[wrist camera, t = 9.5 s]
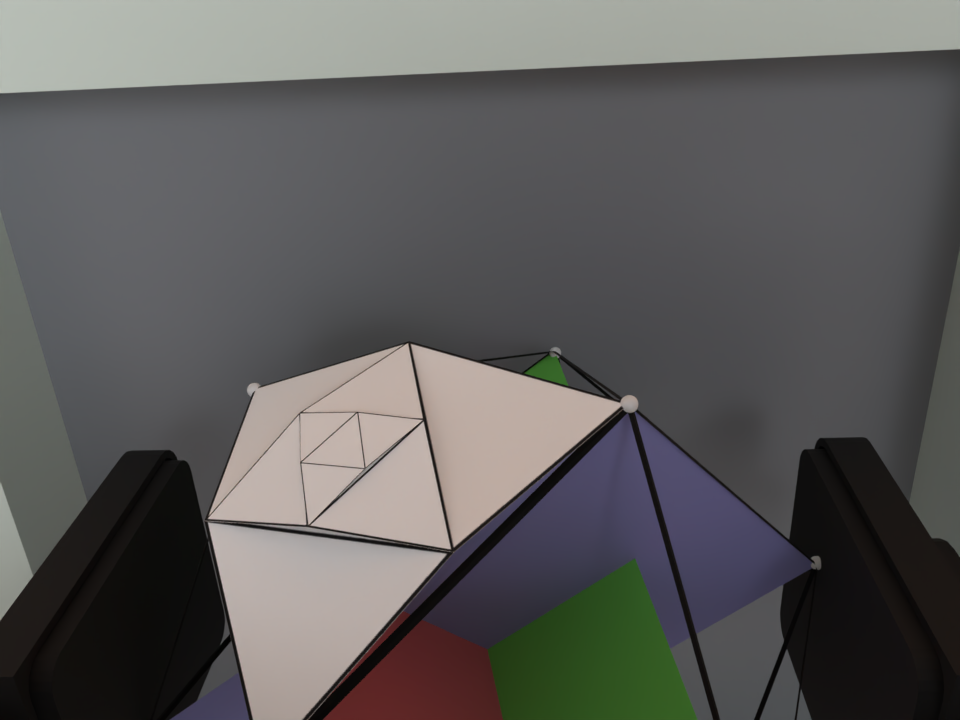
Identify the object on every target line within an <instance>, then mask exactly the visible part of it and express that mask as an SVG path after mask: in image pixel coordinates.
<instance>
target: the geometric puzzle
mask: <svg viewBox="0 0 960 720" xmlns="http://www.w3.org/2000/svg"><path fill="white" fill-rule="evenodd" d="M540 354H547V355H545V356H544V357H542V358H541V359H540V360H538V361H537V362H536V363H534V364H533V365H532V366H530V367H529V368H528V369H526V370H525V371H523V372H522V373H521V372H517V371H514V370H510V369H507V368H503V367H500V366H496V365H493V364H489V363H485V362H484V361H492V360H500V359H508V358H516V357H524V356H532V355H540ZM559 358H560V359H561V360H562V361H563V362H565V363H566V364H567V365H568V366H570V367H571V368H572V369H573V370H574V371H576V372H577V373H578V374H579V375H581V376H582V377H583V378H584V379H585V380H587V381H588V382H589V383H590V384H592V385H593V386H594V387H595V388H597V389H598V390H599V391H600V392H601V393H603V394H604V395H605V396H603V395H599V394H595V393H592V392H588V391H585V390H581V389H578V388H574V387H571V386H568V384H567V381H566V378H565V376H564V373H563V371H562V368H561V365H560V359H559ZM588 377H589V378H590V379H591V380H590V379H589V378H588ZM592 380H593V381H594V382H596V383H597V384H598V385H600V386H601V387H602V388H604V389H605V390H607V391H608V392H609V393H611V394H612V395H614V396H615V397H616V398H618V399H619V400H617V399H614V398H613V397H611V396H610V395H609V394H608V393H606V392H605V391H604V390H603V389H602V388H600V387H599V386H598V385H597V384H595V383H594V382H593V381H592ZM247 393H248V395H249V396H251V398H250V401H249V404H248V406H247V409H246V412H245V414H244V417H243V420H242V422H241V425H240V428H239V430H238V433H237V435H236V438H235V441H234V443H233V446H232V449H231V451H230V454H229V457H228V459H227V462H226V465H225V467H224V470H223V473H222V475H221V478H220V481H219V483H218V486H217V489H216V491H215V494H214V497H213V499H212V502H211V504H210V507H209V510H208V512H207V515H206V518H205V520H204V522H205V527H206V531H207V535H208V537H207V540H206V544H205V547H204V550H203V553H202V556H201V559H200V563H199V566H198V569H197V572H196V575H195V579H194V582H193V585H192V588H191V591H190V594H189V598H188V601H187V604H186V607H185V610H184V614H183V617H182V620H181V623H180V626H179V629H178V633H177V636H176V639H175V642H174V645H173V649H172V652H171V655H170V658H169V661H168V664H167V668H166V671H165V674H164V677H163V680H162V684H161V687H160V690H159V693H158V696H157V699H156V703H155V706H154V709H153V712H152V715H151V718H150V720H153V717H154V714H155V710H156V707H157V704H158V701H159V698H160V694H161V691H162V688H163V685H164V682H165V679H166V675H167V672H168V669H169V666H170V663H171V660H172V656H173V653H174V650H175V647H176V644H177V640H178V637H179V634H180V631H181V628H182V625H183V621H184V618H185V615H186V612H187V609H188V606H189V602H190V599H191V596H192V593H193V590H194V586H195V583H196V580H197V577H198V574H199V571H200V567H201V564H202V561H203V558H204V555H205V551H206V548H207V545H208V542H209V544H210V549H211V553H212V558H213V562H214V566H215V571H216V575H217V580H218V584H219V588H220V593H221V597H222V602H223V606H224V611H225V615H226V619H227V624H228V628H229V633H230V634H229V635H228V637H227V638H226V639H225V640H224V641H223V642H222V644H221V645H220V646H219V647H218V648H217V650H216V651H215V652H214V653H213V654H212V655H211V657H210V658H209V659H208V660H207V661H206V662H205V664H204V665H203V666H202V667H201V668H200V669H199V671H198V672H197V673H196V674H195V675H194V676H193V678H192V679H191V680H190V681H189V682H188V684H187V685H186V686H185V687H184V688H183V689H182V691H181V692H180V693H179V694H178V695H177V696H176V698H175V699H174V700H173V701H172V702H171V703H170V705H169V706H168V707H167V708H166V709H165V711H164V712H163V713H162V714H161V715H160V716H159V718H158V719H157V720H165V719H166V718H167V717H168V716H169V714H170V713H171V712H172V711H173V710H174V709H175V707H176V706H177V705H178V704H179V703H180V701H181V700H182V699H183V698H184V697H185V695H186V694H187V693H188V692H189V691H190V690H191V688H192V687H193V686H194V685H195V684H196V682H197V681H198V680H199V679H200V678H201V676H202V675H203V674H204V673H205V672H206V671H207V669H208V668H209V667H210V666H211V665H212V663H213V662H214V661H215V660H216V659H217V658H218V656H219V655H220V654H221V653H222V652H223V650H224V649H225V648H226V647H227V646H228V644H229V643H230V642H231V641H232V646H233V650H234V655H235V659H236V664H237V668H238V672H239V673H237V674H236V675H234V676H233V677H231V678H230V679H228V680H227V681H226V682H224V683H223V684H221V685H220V686H218V687H217V688H215V689H214V690H212V691H211V692H210V693H208V694H207V695H205V696H204V697H202V698H201V699H199V700H198V701H196V702H195V703H194V704H192V705H191V706H189V707H188V708H186V709H185V710H183V711H182V712H180V713H179V714H177V715H176V716H175V717H173V718H172V719H170V720H697V717H696V714H695V712H694V709H693V707H692V704H691V701H690V699H689V696H688V694H687V691H686V689H685V686H684V683H683V681H682V678H681V676H680V673H679V670H678V668H677V665H676V663H675V660H674V658H673V655H672V652H671V650H670V648H672V647H674V646H676V645H677V644H679V643H681V642H683V641H685V640H686V639H688V638H691V642H692V646H693V649H694V653H695V656H696V660H697V664H698V667H699V671H700V674H701V678H702V682H703V685H704V689H705V693H706V696H707V700H708V703H709V707H710V711H711V714H712V718H713V720H720V717H719V714H718V710H717V706H716V703H715V699H714V696H713V692H712V688H711V685H710V681H709V678H708V674H707V670H706V667H705V663H704V660H703V656H702V652H701V649H700V645H699V642H698V638H697V633H699V632H700V631H702V630H704V629H706V628H707V627H709V626H711V625H713V624H714V623H716V622H718V621H720V620H722V619H723V618H725V617H727V616H729V615H730V614H732V613H734V612H736V611H737V610H739V609H741V608H743V607H744V606H746V605H748V604H750V603H752V602H753V601H755V600H757V599H759V598H760V597H762V596H764V595H766V594H767V593H769V592H771V591H773V590H774V589H776V588H778V587H780V586H781V585H783V584H785V583H787V582H789V581H790V580H792V579H794V578H796V577H797V576H799V575H801V574H803V573H804V572H807V571H811V572H810V574H809V577H808V580H807V582H806V585H805V587H804V590H803V593H802V595H801V598H800V601H799V603H798V606H797V608H796V611H795V614H794V616H793V619H792V621H791V624H790V627H789V629H788V632H787V635H786V637H785V640H784V642H783V645H782V648H781V650H780V653H779V655H778V658H777V661H776V663H775V666H774V668H773V671H772V674H771V676H770V679H769V682H768V684H767V687H766V689H765V692H764V695H763V697H762V700H761V702H760V705H759V708H758V710H757V713H756V716H755V718H754V720H760V718H761V715H762V712H763V710H764V707H765V704H766V702H767V699H768V697H769V694H770V691H771V689H772V686H773V684H774V681H775V678H776V676H777V673H778V671H779V668H780V665H781V663H782V660H783V658H784V655H785V652H786V650H787V647H788V644H789V642H790V639H791V637H792V634H793V631H794V629H795V626H796V624H797V621H798V618H799V616H800V613H801V611H802V608H803V605H804V603H805V600H806V597H807V595H808V592H809V590H810V587H811V584H812V582H813V579H814V577H815V579H814V586H813V593H812V600H811V607H810V614H809V621H808V628H807V635H806V642H805V650H804V657H803V664H802V671H801V678H800V685H799V692H798V699H797V706H796V713H795V720H797V713H798V706H799V699H800V692H801V685H802V677H803V670H804V663H805V656H806V649H807V641H808V634H809V627H810V620H811V613H812V605H813V598H814V591H815V584H816V577H817V570H820V569H821V559H820V557H819V556H813V557H812V558H810V557H809V556H807V555H806V554H805V553H804V552H803V551H802V550H800V549H799V548H798V547H797V546H796V545H795V544H793V543H792V542H791V541H790V540H789V539H788V538H786V537H785V536H784V535H783V534H782V533H781V532H780V531H778V530H777V529H776V528H775V527H774V526H773V525H771V524H770V523H769V522H768V521H767V520H766V519H764V518H763V517H762V516H761V515H760V514H759V513H757V512H756V511H755V510H754V509H753V508H752V507H750V506H749V505H748V504H747V503H746V502H745V501H743V500H742V499H741V498H740V497H739V496H738V495H736V494H735V493H734V492H733V491H732V490H731V489H729V488H728V487H727V486H726V485H725V484H724V483H722V482H721V481H720V480H719V479H718V478H717V477H715V476H714V475H713V474H712V473H711V472H710V471H708V470H707V469H706V468H705V467H704V466H703V465H701V464H700V463H699V462H698V461H697V460H696V459H694V458H693V457H692V456H691V455H690V454H689V453H688V452H686V451H685V450H684V449H683V448H682V447H681V446H679V445H678V444H677V443H676V442H675V441H674V440H672V439H671V438H670V437H669V436H668V435H667V434H665V433H664V432H663V431H662V430H661V429H660V428H658V427H657V426H656V425H655V424H654V423H653V422H651V421H650V420H649V419H648V418H647V417H646V416H644V415H643V414H642V413H641V412H640V411H639V410H637V408H638V400H637V399H636V398H635V397H634V396H632V395H627V396H624V397H623V398H622V397H620V396H619V395H618V394H616V393H615V392H613V391H612V390H610V389H609V388H608V387H606V386H605V385H603V384H602V383H600V382H599V381H598V380H596V379H595V378H593V377H592V376H590V375H589V374H588V373H586V372H585V371H583V370H582V369H580V368H579V367H578V366H576V365H575V364H573V363H572V362H570V361H569V360H568V359H566V358H565V357H563V356H562V355H561V350H560V349H559V348H558V347H553V348H551V349H550V351H547V352H539V353H531V354H523V355H515V356H507V357H499V358H491V359H483V360H475V359H471V358H468V357H464V356H461V355H457V354H454V353H450V352H446V351H443V350H439V349H436V348H432V347H429V346H425V345H422V344H418V343H414V342H411V341H408V342H404V343H401V344H398V345H395V346H391V347H388V348H385V349H381V350H378V351H375V352H371V353H368V354H365V355H361V356H358V357H355V358H352V359H348V360H345V361H342V362H338V363H335V364H332V365H328V366H325V367H322V368H319V369H315V370H312V371H309V372H305V373H302V374H299V375H295V376H292V377H289V378H285V379H282V380H279V381H276V382H272V383H269V384H266V385H262V386H260V385H259V384H258V383H251V384H250V385H249V386H248V388H247ZM620 400H621V401H620Z"/></svg>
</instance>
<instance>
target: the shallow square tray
mask: <svg viewBox="0 0 960 720" xmlns="http://www.w3.org/2000/svg"><path fill="white" fill-rule="evenodd" d="M408 341H411V342H414V343H418V344H422V345H425V346H429V347H432V348H436V349H439V350H443V351H446V352H450V353H454V354H457V355H461V356H464V357H468V358H471V359H475V360H483V359H491V358H499V357H507V356H515V355H523V354H531V353H539V352H547V351H550V349H551V348H553V347H558V348H559V349H560V350H561V355H562V356H563V357H565V358H566V359H568V360H569V361H570V362H572V363H573V364H575V365H576V366H578V367H579V368H580V369H582V370H583V371H585V372H586V373H588V374H589V375H590V376H592V377H593V378H595V379H596V380H598V381H599V382H600V383H602V384H603V385H605V386H606V387H608V388H609V389H610V390H612V391H613V392H615V393H616V394H618V395H619V396H620V397H622V398H623V397H624V396H627V395H632V396H634V397H635V398H636V399H637V400H638V408H637V410H639V411H640V412H641V413H642V414H643V415H644V416H646V417H647V418H648V419H649V420H650V421H651V422H653V423H654V424H655V425H656V426H657V427H658V428H660V429H661V430H662V431H663V432H664V433H665V434H667V435H668V436H669V437H670V438H671V439H672V440H674V441H675V442H676V443H677V444H678V445H679V446H681V447H682V448H683V449H684V450H685V451H686V452H688V453H689V454H690V455H691V456H692V457H693V458H694V459H696V460H697V461H698V462H699V463H700V464H701V465H703V466H704V467H705V468H706V469H707V470H708V471H710V472H711V473H712V474H713V475H714V476H715V477H717V478H718V479H719V480H720V481H721V482H722V483H724V484H725V485H726V486H727V487H728V488H729V489H731V490H732V491H733V492H734V493H735V494H736V495H738V496H739V497H740V498H741V499H742V500H743V501H745V502H746V503H747V504H748V505H749V506H750V507H752V508H753V509H754V510H755V511H756V512H757V513H759V514H760V515H761V516H762V517H763V518H764V519H766V520H767V521H768V522H769V523H770V524H771V525H773V526H774V527H775V528H776V529H777V530H778V531H780V532H781V533H782V534H783V535H784V536H785V537H786V538H788V539H789V537H790V530H791V522H792V514H793V506H794V499H795V491H796V483H797V476H798V468H799V460H800V455H801V453H802V451H803V450H804V449H814V448H815V444H816V442H817V440H818V439H819V438H838V437H865V438H867V439H868V440H869V441H870V442H871V444H872V446H873V447H874V449H875V450H876V452H877V453H878V455H879V456H880V458H881V460H882V461H883V463H884V464H885V466H886V467H887V469H888V471H889V472H890V474H891V475H892V477H893V478H894V480H895V481H896V483H897V485H898V486H899V488H900V489H901V491H902V492H903V494H904V496H905V497H906V499H907V500H908V502H909V503H910V505H911V506H912V508H913V510H914V511H915V513H916V514H917V516H918V517H919V519H920V521H921V522H922V524H923V525H924V527H925V528H926V530H927V531H928V533H929V535H930V536H931V538H941V539H943V540H945V541H948V543H949V544H950V545H951V546H952V547H953V548H954V549H955V551H956V552H957V554H958V555H959V557H960V0H0V620H1V619H2V617H3V616H4V615H5V613H6V612H7V611H8V609H9V608H10V607H11V605H12V604H13V603H14V601H15V600H16V599H17V597H18V596H19V594H20V593H21V592H22V590H23V589H24V588H25V586H26V585H27V584H28V582H29V581H30V580H31V578H32V577H33V576H34V574H35V573H36V571H37V570H38V569H39V567H40V566H41V565H42V563H43V562H44V561H45V559H46V558H47V557H48V555H49V554H50V553H51V551H52V550H53V548H54V547H55V546H56V544H57V543H58V542H59V540H60V539H61V538H62V536H63V535H64V534H65V532H66V531H67V530H68V528H69V527H70V525H71V524H72V523H73V521H74V520H75V519H76V517H77V516H78V515H79V513H80V512H81V511H82V509H83V508H84V507H85V505H86V504H87V503H88V501H89V500H90V498H91V497H92V496H93V494H94V493H95V492H96V490H97V489H98V488H99V486H100V485H101V484H102V482H103V481H104V480H105V478H106V477H107V475H108V474H109V473H110V471H111V470H112V469H113V467H114V466H115V465H116V463H117V462H118V461H119V459H120V458H121V457H122V455H123V454H124V453H125V452H127V451H132V450H171V451H172V452H174V454H175V455H176V457H177V460H185V461H187V462H188V464H189V466H190V469H191V472H192V476H193V481H194V485H195V489H196V493H197V498H198V502H199V506H200V511H201V515H202V519H203V523H204V528H205V532H206V536H207V537H208V535H207V531H206V527H205V522H204V520H205V518H206V515H207V512H208V510H209V507H210V504H211V502H212V499H213V497H214V494H215V491H216V489H217V486H218V483H219V481H220V478H221V475H222V473H223V470H224V467H225V465H226V462H227V459H228V457H229V454H230V451H231V449H232V446H233V443H234V441H235V438H236V435H237V433H238V430H239V428H240V425H241V422H242V420H243V417H244V414H245V412H246V409H247V406H248V404H249V401H250V398H251V396H249V395H248V393H247V388H248V386H249V385H250V384H251V383H258V384H259V385H260V386H262V385H266V384H269V383H272V382H276V381H279V380H282V379H285V378H289V377H292V376H295V375H299V374H302V373H305V372H309V371H312V370H315V369H319V368H322V367H325V366H328V365H332V364H335V363H338V362H342V361H345V360H348V359H352V358H355V357H358V356H361V355H365V354H368V353H371V352H375V351H378V350H381V349H385V348H388V347H391V346H395V345H398V344H401V343H404V342H408ZM545 355H547V354H540V355H532V356H524V357H516V358H508V359H500V360H492V361H484V362H485V363H489V364H493V365H496V366H500V367H503V368H507V369H510V370H514V371H517V372H521V373H522V372H523V371H525V370H526V369H528V368H529V367H530V366H532V365H533V364H534V363H536V362H537V361H538V360H540V359H541V358H542V357H544V356H545ZM559 359H560V358H559ZM560 365H561V368H562V371H563V373H564V376H565V378H566V381H567V384H568V386H571V387H574V388H578V389H581V390H585V391H588V392H592V393H595V394H599V395H603V396H605V395H604V394H603V393H601V392H600V391H599V390H598V389H597V388H595V387H594V386H593V385H592V384H590V383H589V382H588V381H587V380H585V379H584V378H583V377H582V376H581V375H579V374H578V373H577V372H576V371H574V370H573V369H572V368H571V367H570V366H568V365H567V364H566V363H565V362H563V361H562V360H561V359H560ZM588 378H589V377H588ZM589 379H590V378H589ZM590 380H591V379H590ZM592 381H593V380H592ZM593 382H594V381H593ZM594 383H595V384H597V383H596V382H594ZM597 385H598V384H597ZM598 386H599V387H600V388H602V387H601V386H600V385H598ZM602 389H603V390H604V391H605V392H606V393H608V394H609V395H610V396H611V397H613V398H614V399H617V400H619V399H618V398H616V397H615V396H614V395H612V394H611V393H609V392H608V391H607V390H605V389H604V388H602ZM620 401H621V400H620ZM208 545H209V549H210V544H209V542H208ZM210 553H211V549H210ZM211 558H212V553H211ZM212 562H213V558H212ZM213 566H214V562H213ZM214 571H215V566H214ZM215 575H216V571H215ZM216 579H217V575H216ZM217 583H218V580H217ZM218 588H219V584H218ZM782 591H783V585H781V586H780V587H778V588H776V589H774V590H773V591H771V592H769V593H767V594H766V595H764V596H762V597H760V598H759V599H757V600H755V601H753V602H752V603H750V604H748V605H746V606H744V607H743V608H741V609H739V610H737V611H736V612H734V613H732V614H730V615H729V616H727V617H725V618H723V619H722V620H720V621H718V622H716V623H714V624H713V625H711V626H709V627H707V628H706V629H704V630H702V631H700V632H699V633H697V638H698V642H699V645H700V649H701V652H702V656H703V660H704V663H705V667H706V670H707V674H708V678H709V681H710V685H711V688H712V692H713V696H714V699H715V703H716V706H717V710H718V714H719V717H720V720H754V718H755V716H756V713H757V710H758V708H759V705H760V702H761V700H762V697H763V695H764V692H765V689H766V687H767V684H768V682H769V679H770V676H771V674H772V671H773V668H774V666H775V663H776V661H777V658H778V655H779V653H780V650H781V648H782V645H783V642H784V639H783V635H782V630H781V623H780V607H781V599H782ZM219 592H220V588H219ZM220 596H221V593H220ZM221 601H222V597H221ZM222 605H223V602H222ZM223 609H224V606H223ZM224 615H225V611H224ZM229 634H230V633H229V628H228V624H227V619H226V615H225V628H224V634H223V638H222V641H221V644H222V642H223V641H224V640H225V639H226V638H227V637H228V635H229ZM221 644H220V645H221ZM670 650H671V652H672V655H673V658H674V660H675V663H676V665H677V668H678V670H679V673H680V676H681V678H682V681H683V683H684V686H685V689H686V691H687V694H688V696H689V699H690V701H691V704H692V707H693V709H694V712H695V714H696V717H697V720H713V718H712V714H711V711H710V707H709V703H708V700H707V696H706V693H705V689H704V685H703V682H702V678H701V674H700V671H699V667H698V664H697V660H696V656H695V653H694V649H693V646H692V642H691V638H688V639H686V640H685V641H683V642H681V643H679V644H677V645H676V646H674V647H672V648H670ZM237 673H239V672H238V668H237V664H236V659H235V655H234V650H233V646H232V641H231V642H230V643H229V644H228V646H227V647H226V648H225V649H224V650H223V652H222V653H221V654H220V655H219V656H218V658H217V659H216V660H215V661H214V662H213V663H212V666H211V668H210V670H209V673H208V675H207V678H206V680H205V682H204V685H203V687H202V690H201V692H200V694H199V697H198V699H197V701H198V700H199V699H201V698H202V697H204V696H205V695H207V694H208V693H210V692H211V691H212V690H214V689H215V688H217V687H218V686H220V685H221V684H223V683H224V682H226V681H227V680H228V679H230V678H231V677H233V676H234V675H236V674H237ZM798 692H799V682H798V679H797V676H796V673H795V670H794V668H793V665H792V662H791V659H790V656H789V653H788V650H786V652H785V655H784V658H783V660H782V663H781V665H780V668H779V671H778V673H777V676H776V678H775V681H774V684H773V686H772V689H771V691H770V694H769V697H768V699H767V702H766V704H765V707H764V710H763V712H762V715H761V718H760V720H795V713H796V706H797V699H798ZM797 720H812V719H811V716H810V713H809V711H808V708H807V705H806V702H805V699H804V696H803V693H802V690H801V692H800V699H799V706H798V713H797Z"/></svg>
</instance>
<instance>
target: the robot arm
mask: <svg viewBox="0 0 960 720" xmlns="http://www.w3.org/2000/svg"><path fill="white" fill-rule="evenodd" d="M206 540H207V536H206V532H205V528H204V523H203V519H202V515H201V511H200V506H199V502H198V498H197V493H196V489H195V485H194V481H193V476H192V472H191V469H190V466H189V464H188V462H187V461H185V460H177V457H176V455H175V454H174V452H172V451H171V450H132V451H127V452H125V453H124V454H123V455H122V457H121V458H120V459H119V461H118V462H117V463H116V465H115V466H114V467H113V469H112V470H111V471H110V473H109V474H108V475H107V477H106V478H105V480H104V481H103V482H102V484H101V485H100V486H99V488H98V489H97V490H96V492H95V493H94V494H93V496H92V497H91V498H90V500H89V501H88V503H87V504H86V505H85V507H84V508H83V509H82V511H81V512H80V513H79V515H78V516H77V517H76V519H75V520H74V521H73V523H72V524H71V525H70V527H69V528H68V530H67V531H66V532H65V534H64V535H63V536H62V538H61V539H60V540H59V542H58V543H57V544H56V546H55V547H54V548H53V550H52V551H51V553H50V554H49V555H48V557H47V558H46V559H45V561H44V562H43V563H42V565H41V566H40V567H39V569H38V570H37V571H36V573H35V574H34V576H33V577H32V578H31V580H30V581H29V582H28V584H27V585H26V586H25V588H24V589H23V590H22V592H21V593H20V594H19V596H18V597H17V599H16V600H15V601H14V603H13V604H12V605H11V607H10V608H9V609H8V611H7V612H6V613H5V615H4V616H3V617H2V619H1V620H0V720H150V718H151V715H152V712H153V709H154V706H155V703H156V699H157V696H158V693H159V690H160V687H161V684H162V680H163V677H164V674H165V671H166V668H167V664H168V661H169V658H170V655H171V652H172V649H173V645H174V642H175V639H176V636H177V633H178V629H179V626H180V623H181V620H182V617H183V614H184V610H185V607H186V604H187V601H188V598H189V594H190V591H191V588H192V585H193V582H194V579H195V575H196V572H197V569H198V566H199V563H200V559H201V556H202V553H203V550H204V547H205V544H206ZM789 540H790V541H791V542H792V543H793V544H795V545H796V546H797V547H798V548H799V549H800V550H802V551H803V552H804V553H805V554H806V555H807V556H809V557H810V558H812V557H813V556H819V557H820V559H821V569H820V570H817V577H816V584H815V591H814V598H813V605H812V613H811V620H810V627H809V634H808V641H807V649H806V656H805V663H804V670H803V677H802V685H801V690H802V693H803V696H804V699H805V702H806V705H807V708H808V711H809V713H810V716H811V719H812V720H960V557H959V555H958V554H957V552H956V551H955V549H954V548H953V547H952V546H951V545H950V544H949V543H948V541H945V540H943V539H941V538H931V536H930V535H929V533H928V531H927V530H926V528H925V527H924V525H923V524H922V522H921V521H920V519H919V517H918V516H917V514H916V513H915V511H914V510H913V508H912V506H911V505H910V503H909V502H908V500H907V499H906V497H905V496H904V494H903V492H902V491H901V489H900V488H899V486H898V485H897V483H896V481H895V480H894V478H893V477H892V475H891V474H890V472H889V471H888V469H887V467H886V466H885V464H884V463H883V461H882V460H881V458H880V456H879V455H878V453H877V452H876V450H875V449H874V447H873V446H872V444H871V442H870V441H869V440H868V439H867V438H865V437H838V438H819V439H818V440H817V442H816V444H815V448H814V449H804V450H803V451H802V453H801V455H800V460H799V468H798V476H797V483H796V491H795V499H794V506H793V514H792V522H791V530H790V537H789ZM810 572H811V571H807V572H804V573H803V574H801V575H799V576H797V577H796V578H794V579H792V580H790V581H789V582H787V583H785V584H783V591H782V599H781V607H780V623H781V630H782V635H783V639H784V640H785V637H786V635H787V632H788V629H789V627H790V624H791V621H792V619H793V616H794V614H795V611H796V608H797V606H798V603H799V601H800V598H801V595H802V593H803V590H804V587H805V585H806V582H807V580H808V577H809V574H810ZM814 579H815V577H814ZM814 579H813V582H812V584H811V587H810V590H809V592H808V595H807V597H806V600H805V603H804V605H803V608H802V611H801V613H800V616H799V618H798V621H797V624H796V626H795V629H794V631H793V634H792V637H791V639H790V642H789V644H788V647H787V650H788V653H789V656H790V659H791V662H792V665H793V668H794V670H795V673H796V676H797V679H798V682H799V685H800V678H801V671H802V664H803V657H804V650H805V642H806V635H807V628H808V621H809V614H810V607H811V600H812V593H813V586H814ZM224 628H225V615H224V609H223V605H222V601H221V596H220V592H219V588H218V583H217V579H216V575H215V571H214V566H213V562H212V558H211V553H210V549H209V545H207V548H206V551H205V555H204V558H203V561H202V564H201V567H200V571H199V574H198V577H197V580H196V583H195V586H194V590H193V593H192V596H191V599H190V602H189V606H188V609H187V612H186V615H185V618H184V621H183V625H182V628H181V631H180V634H179V637H178V640H177V644H176V647H175V650H174V653H173V656H172V660H171V663H170V666H169V669H168V672H167V675H166V679H165V682H164V685H163V688H162V691H161V694H160V698H159V701H158V704H157V707H156V710H155V714H154V717H153V720H157V719H158V718H159V716H160V715H161V714H162V713H163V712H164V711H165V709H166V708H167V707H168V706H169V705H170V703H171V702H172V701H173V700H174V699H175V698H176V696H177V695H178V694H179V693H180V692H181V691H182V689H183V688H184V687H185V686H186V685H187V684H188V682H189V681H190V680H191V679H192V678H193V676H194V675H195V674H196V673H197V672H198V671H199V669H200V668H201V667H202V666H203V665H204V664H205V662H206V661H207V660H208V659H209V658H210V657H211V655H212V654H213V653H214V652H215V651H216V650H217V648H218V647H219V646H220V644H221V641H222V638H223V634H224ZM211 666H212V665H211ZM211 666H210V667H209V668H208V669H207V671H206V672H205V673H204V674H203V675H202V676H201V678H200V679H199V680H198V681H197V682H196V684H195V685H194V686H193V687H192V688H191V690H190V691H189V692H188V693H187V694H186V695H185V697H184V698H183V699H182V700H181V701H180V703H179V704H178V705H177V706H176V707H175V709H174V710H173V711H172V712H171V713H170V714H169V716H168V717H167V718H166V719H165V720H170V719H172V718H173V717H175V716H176V715H177V714H179V713H180V712H182V711H183V710H185V709H186V708H188V707H189V706H191V705H192V704H194V703H195V702H196V701H197V699H198V697H199V694H200V692H201V690H202V687H203V685H204V682H205V680H206V678H207V675H208V673H209V670H210V668H211Z"/></svg>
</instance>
